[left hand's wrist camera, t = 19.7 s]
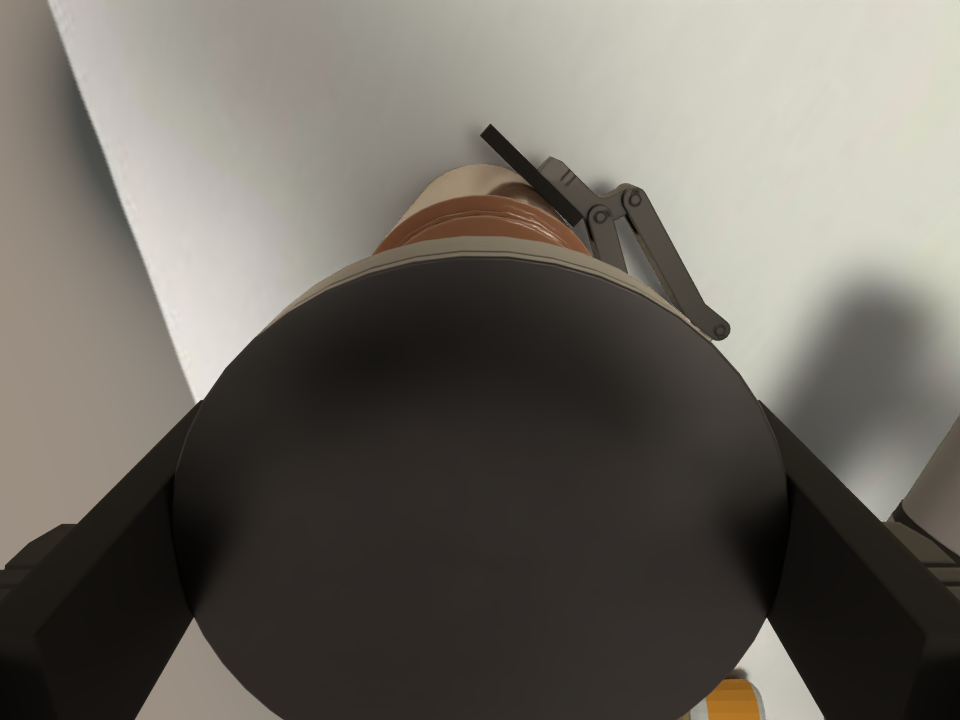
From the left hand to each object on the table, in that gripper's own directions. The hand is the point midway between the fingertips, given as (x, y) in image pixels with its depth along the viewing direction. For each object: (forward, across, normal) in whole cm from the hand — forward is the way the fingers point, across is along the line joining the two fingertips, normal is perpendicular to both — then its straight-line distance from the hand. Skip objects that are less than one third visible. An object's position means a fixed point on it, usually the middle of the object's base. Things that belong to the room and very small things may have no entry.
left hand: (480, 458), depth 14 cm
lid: (-3, 0, 0) cm, 3 cm away
